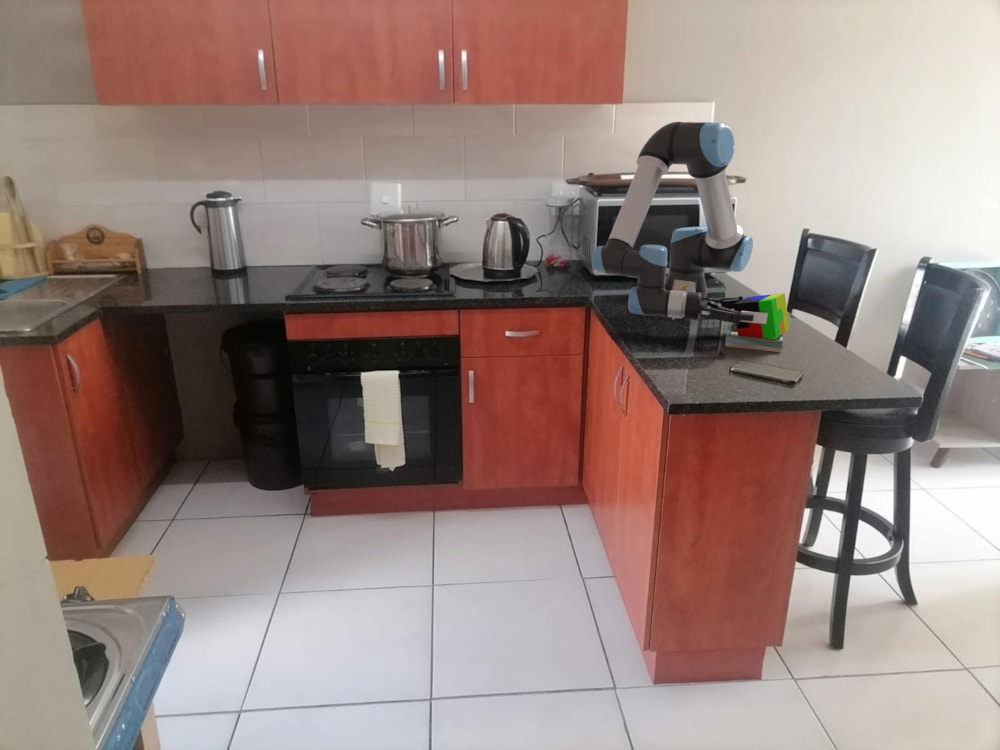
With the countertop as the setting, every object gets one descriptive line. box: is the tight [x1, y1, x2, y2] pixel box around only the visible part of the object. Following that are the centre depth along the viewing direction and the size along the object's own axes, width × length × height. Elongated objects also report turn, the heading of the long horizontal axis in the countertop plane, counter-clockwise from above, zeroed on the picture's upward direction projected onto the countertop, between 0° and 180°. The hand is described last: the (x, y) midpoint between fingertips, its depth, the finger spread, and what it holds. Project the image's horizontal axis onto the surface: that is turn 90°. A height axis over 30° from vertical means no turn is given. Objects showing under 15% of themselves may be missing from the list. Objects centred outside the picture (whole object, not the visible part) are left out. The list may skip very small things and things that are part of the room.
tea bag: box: [672, 280, 696, 294], centre depth 219 cm, size 4×7×10 cm, turn 55°
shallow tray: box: [724, 322, 784, 353], centre depth 190 cm, size 14×14×3 cm
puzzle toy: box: [733, 292, 790, 339], centre depth 188 cm, size 10×10×10 cm
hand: (767, 312), depth 187 cm, fingers open, 13 cm apart
